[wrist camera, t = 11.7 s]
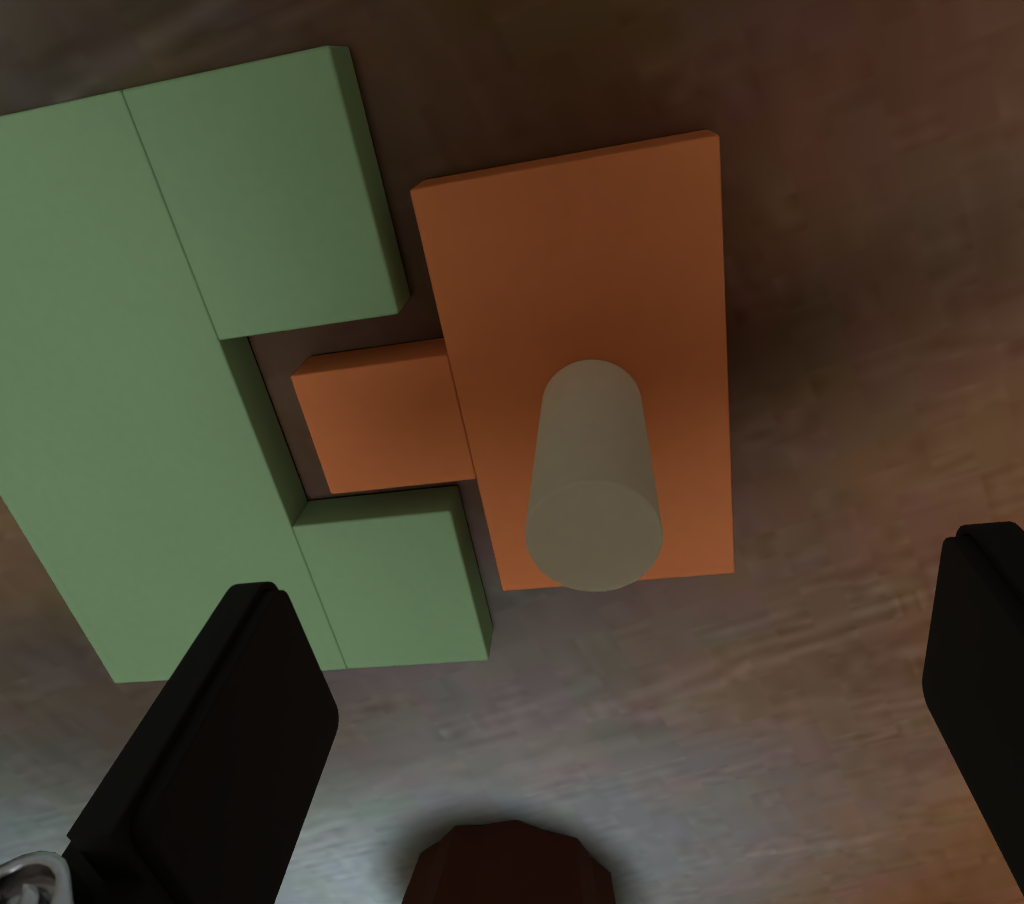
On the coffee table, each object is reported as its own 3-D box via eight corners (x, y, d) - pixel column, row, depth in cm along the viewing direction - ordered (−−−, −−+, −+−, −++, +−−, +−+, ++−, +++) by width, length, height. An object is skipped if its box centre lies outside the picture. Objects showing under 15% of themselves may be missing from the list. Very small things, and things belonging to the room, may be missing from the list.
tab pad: (259, 209, 18) (78, 291, 12) (709, 128, 16) (790, 173, 10) (380, 572, 24) (303, 764, 17) (726, 543, 22) (785, 746, 15)
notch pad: (-151, 153, 19) (-206, 160, 17) (349, 46, 16) (328, 44, 15) (137, 653, 27) (114, 683, 26) (494, 629, 25) (488, 661, 23)
